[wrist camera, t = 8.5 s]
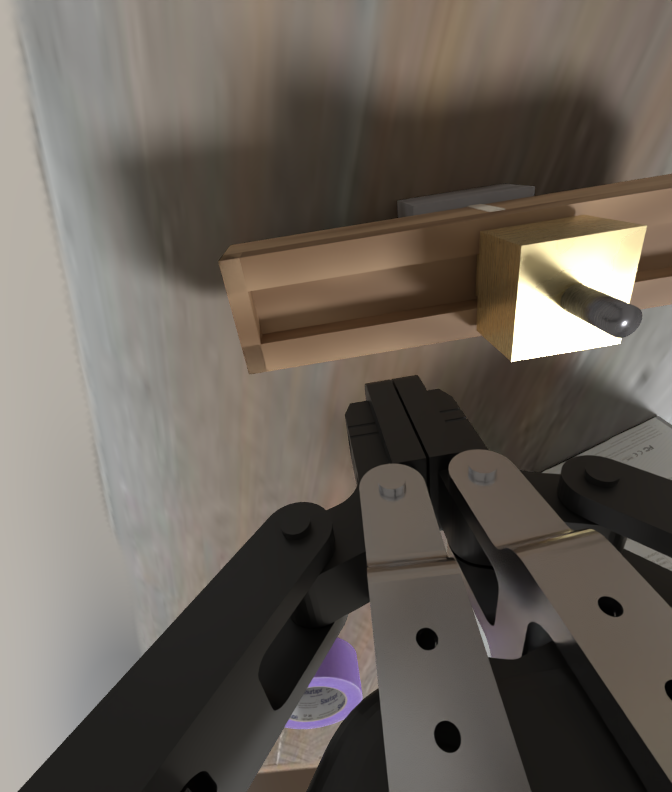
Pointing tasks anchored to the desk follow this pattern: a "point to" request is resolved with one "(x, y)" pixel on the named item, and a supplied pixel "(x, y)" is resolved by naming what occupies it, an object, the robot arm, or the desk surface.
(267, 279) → the beam
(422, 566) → the robot arm
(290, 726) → the tape roll
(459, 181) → the desk surface
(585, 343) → the rider
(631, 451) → the hard drive box
